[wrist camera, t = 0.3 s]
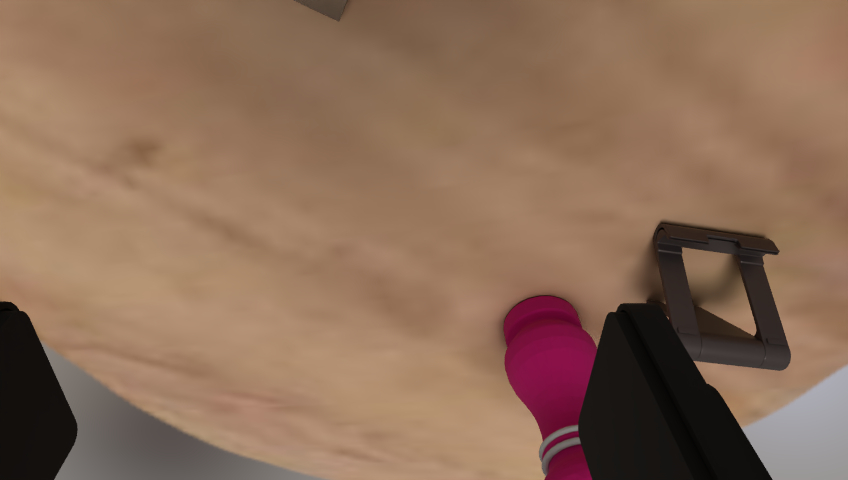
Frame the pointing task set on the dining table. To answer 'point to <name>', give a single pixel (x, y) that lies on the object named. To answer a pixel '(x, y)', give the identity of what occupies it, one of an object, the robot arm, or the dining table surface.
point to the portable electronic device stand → (707, 331)
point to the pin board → (326, 7)
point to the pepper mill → (551, 378)
